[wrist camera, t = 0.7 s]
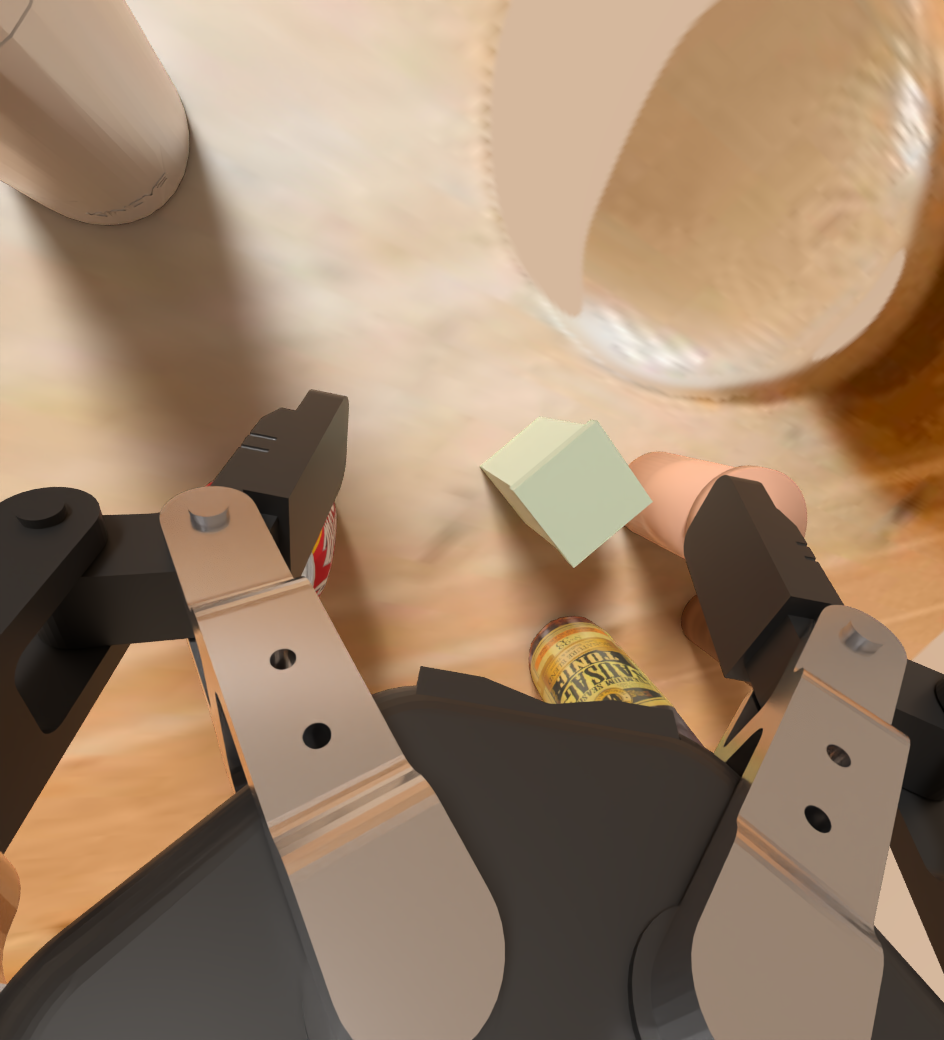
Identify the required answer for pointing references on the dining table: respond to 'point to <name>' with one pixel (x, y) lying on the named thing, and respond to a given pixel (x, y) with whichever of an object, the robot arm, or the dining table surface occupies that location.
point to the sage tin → (567, 484)
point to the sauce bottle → (590, 669)
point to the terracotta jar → (698, 495)
